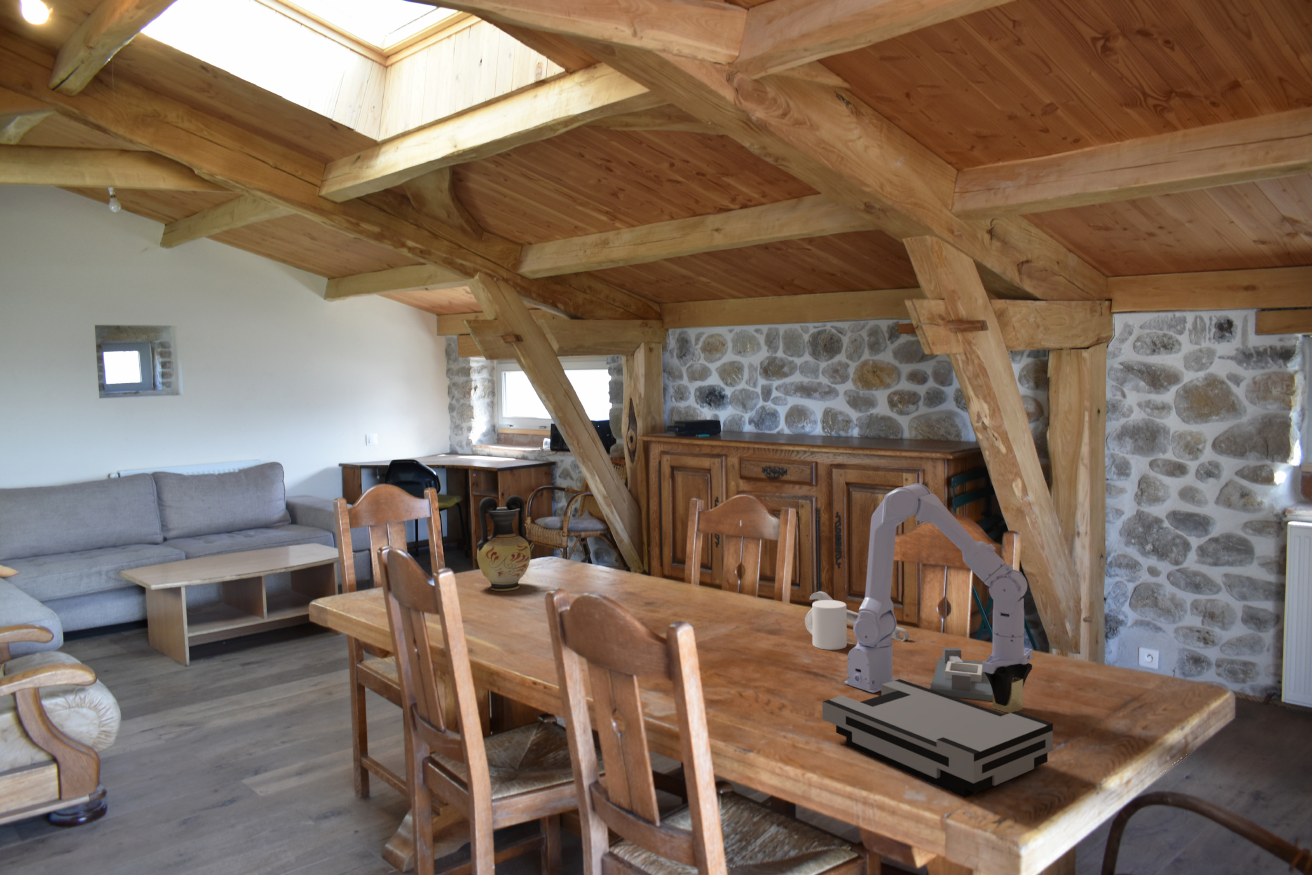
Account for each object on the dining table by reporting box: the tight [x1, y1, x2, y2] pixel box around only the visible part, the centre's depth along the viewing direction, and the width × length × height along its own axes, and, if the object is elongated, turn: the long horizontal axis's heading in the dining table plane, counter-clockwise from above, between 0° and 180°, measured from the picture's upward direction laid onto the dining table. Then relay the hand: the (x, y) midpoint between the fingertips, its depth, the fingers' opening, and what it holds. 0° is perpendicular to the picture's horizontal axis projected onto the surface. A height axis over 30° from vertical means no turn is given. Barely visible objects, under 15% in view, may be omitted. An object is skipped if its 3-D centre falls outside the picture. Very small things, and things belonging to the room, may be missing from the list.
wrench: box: [809, 590, 910, 642], centre depth 230 cm, size 8×2×30 cm
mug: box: [804, 599, 848, 651], centre depth 218 cm, size 8×10×12 cm
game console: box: [822, 678, 1054, 798], centre depth 152 cm, size 21×32×8 cm, turn 34°
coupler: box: [992, 677, 1024, 714], centre depth 172 cm, size 4×4×7 cm
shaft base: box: [929, 647, 993, 702], centre depth 189 cm, size 22×12×4 cm, turn 157°
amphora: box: [476, 494, 531, 592], centre depth 284 cm, size 18×17×30 cm
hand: (1007, 701), depth 172 cm, fingers closed on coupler, 4 cm apart
